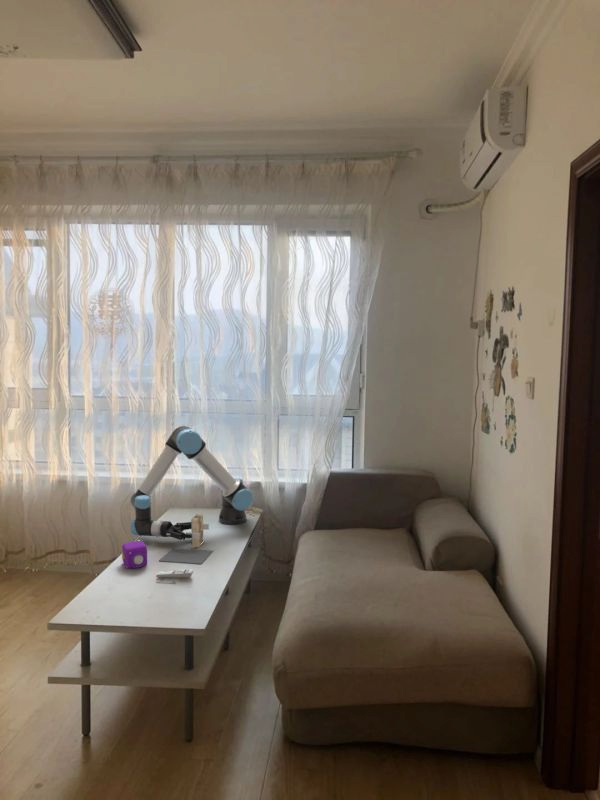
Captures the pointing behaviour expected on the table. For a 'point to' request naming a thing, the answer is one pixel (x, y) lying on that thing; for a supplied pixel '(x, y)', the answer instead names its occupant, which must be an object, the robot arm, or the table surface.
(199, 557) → the mat
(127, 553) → the toy camera
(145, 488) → the robot arm
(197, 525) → the tile
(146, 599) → the table surface
